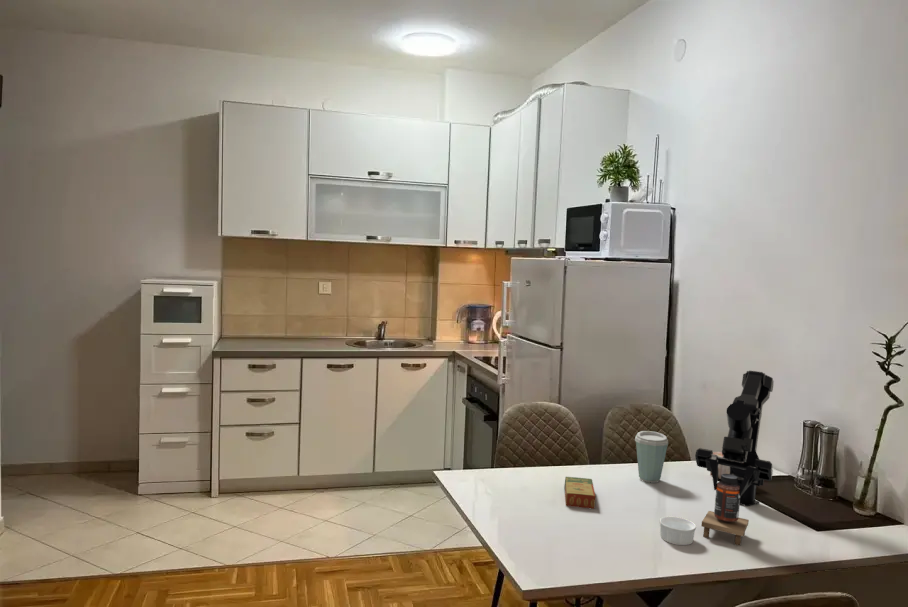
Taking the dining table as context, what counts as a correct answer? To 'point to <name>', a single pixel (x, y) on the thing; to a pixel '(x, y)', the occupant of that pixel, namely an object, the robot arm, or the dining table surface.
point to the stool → (725, 526)
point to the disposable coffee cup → (650, 455)
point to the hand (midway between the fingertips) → (727, 492)
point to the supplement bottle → (727, 498)
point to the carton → (579, 492)
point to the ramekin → (677, 530)
